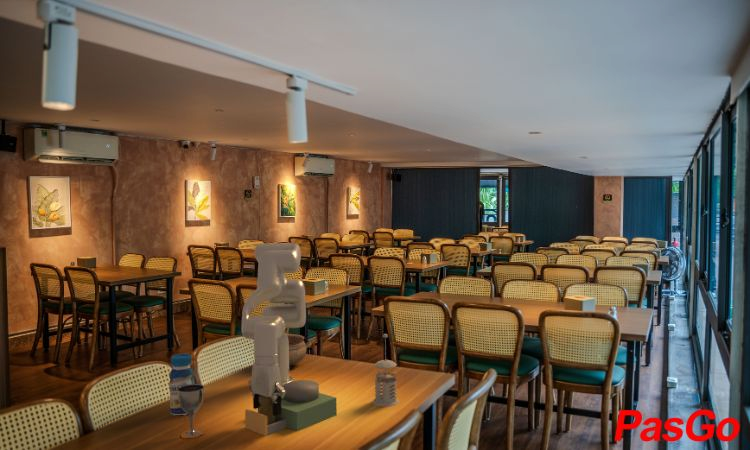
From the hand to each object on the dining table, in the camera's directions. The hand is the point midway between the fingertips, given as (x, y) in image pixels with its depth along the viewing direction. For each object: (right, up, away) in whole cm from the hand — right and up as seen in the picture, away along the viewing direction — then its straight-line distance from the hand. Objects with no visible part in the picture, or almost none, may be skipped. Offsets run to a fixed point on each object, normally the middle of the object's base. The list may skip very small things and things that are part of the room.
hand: (267, 410), depth 194 cm
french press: (+39, -4, +22) cm, 45 cm away
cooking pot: (-5, -2, +71) cm, 71 cm away
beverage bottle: (-32, -5, +15) cm, 36 cm away
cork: (0, -6, 0) cm, 6 cm away
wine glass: (-23, -6, -5) cm, 24 cm away
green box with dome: (+6, -5, +6) cm, 10 cm away
